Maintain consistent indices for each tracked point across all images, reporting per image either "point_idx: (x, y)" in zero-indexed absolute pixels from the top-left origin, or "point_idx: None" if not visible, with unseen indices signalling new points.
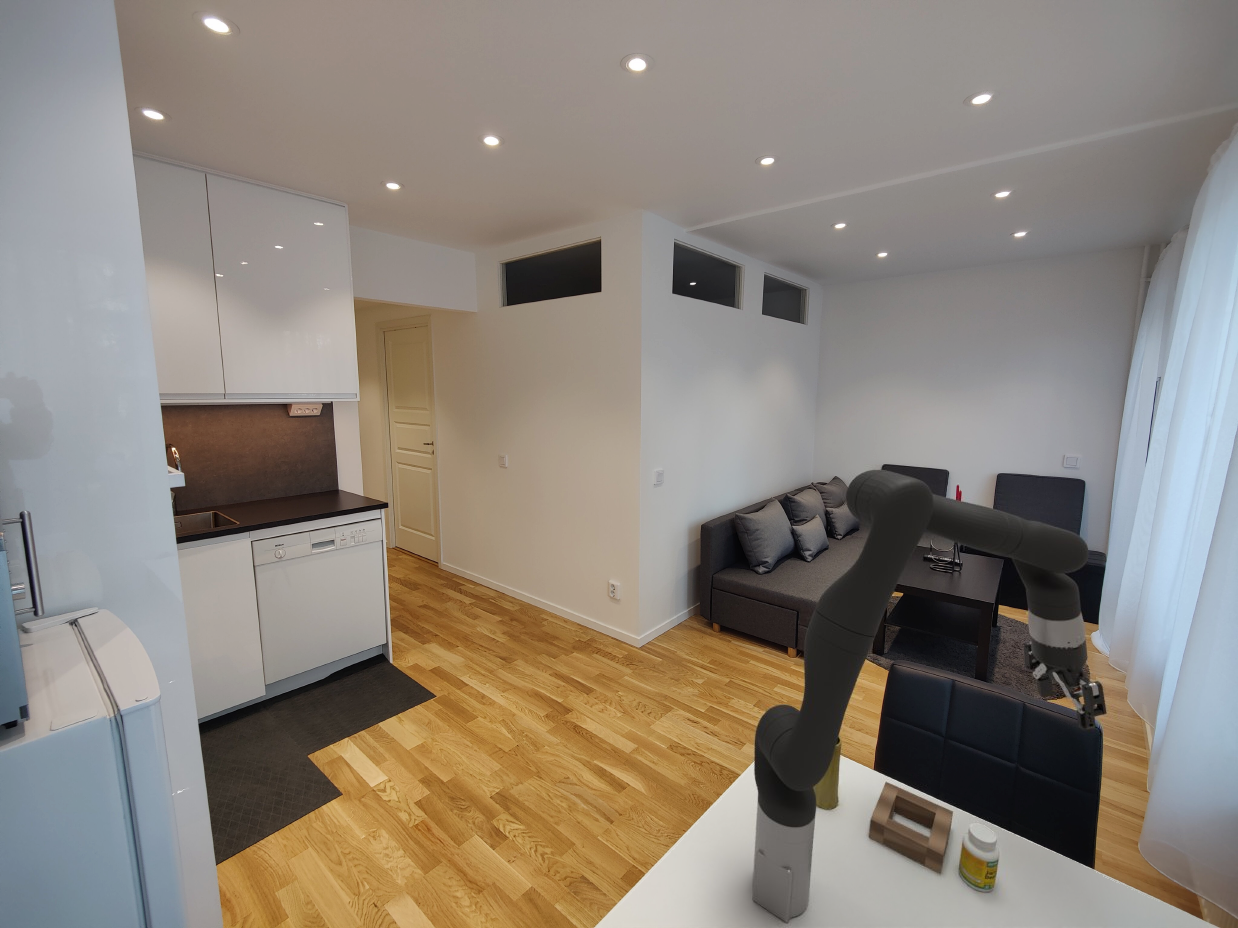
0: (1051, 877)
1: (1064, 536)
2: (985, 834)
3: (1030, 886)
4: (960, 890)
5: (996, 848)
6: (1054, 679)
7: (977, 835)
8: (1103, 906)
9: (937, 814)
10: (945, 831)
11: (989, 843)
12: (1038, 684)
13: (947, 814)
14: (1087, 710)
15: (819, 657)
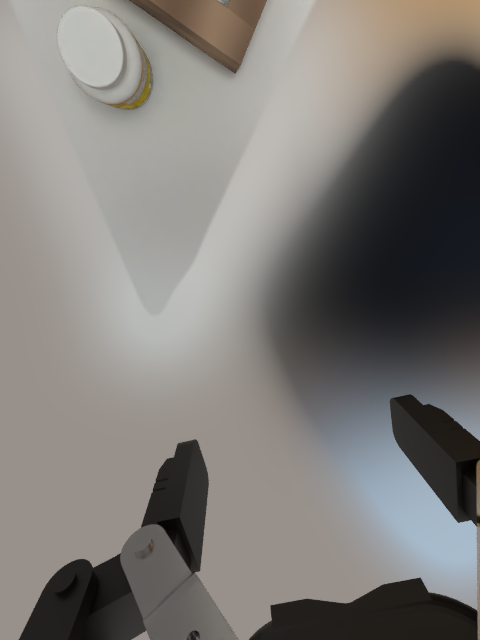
0: (171, 221)
1: None
2: (86, 54)
3: (141, 178)
4: None
5: (96, 92)
6: (368, 629)
7: (71, 23)
8: (143, 268)
9: (222, 10)
10: (172, 8)
11: (59, 51)
12: (444, 435)
13: (228, 43)
14: (62, 608)
15: None
